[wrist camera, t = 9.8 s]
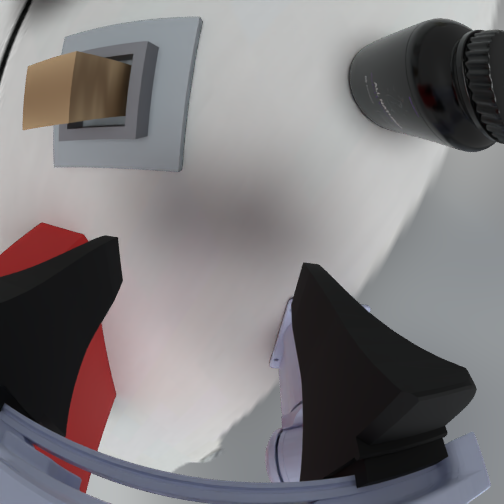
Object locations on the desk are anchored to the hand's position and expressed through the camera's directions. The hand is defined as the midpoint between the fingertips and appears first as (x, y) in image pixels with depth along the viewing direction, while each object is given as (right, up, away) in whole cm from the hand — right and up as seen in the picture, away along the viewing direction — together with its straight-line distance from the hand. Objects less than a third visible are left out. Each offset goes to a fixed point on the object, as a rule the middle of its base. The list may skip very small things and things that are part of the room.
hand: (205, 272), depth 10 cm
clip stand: (-8, +12, +5) cm, 15 cm away
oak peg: (-8, +12, +4) cm, 14 cm away
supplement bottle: (+11, +12, +4) cm, 18 cm away
